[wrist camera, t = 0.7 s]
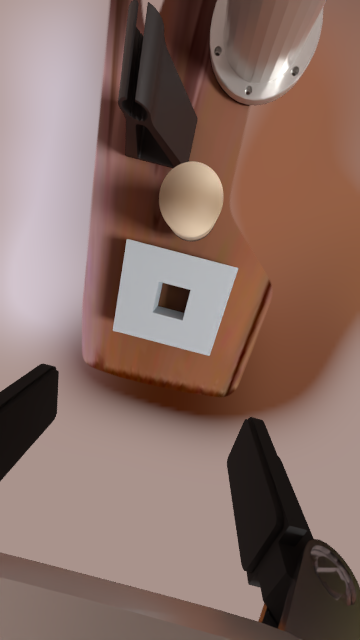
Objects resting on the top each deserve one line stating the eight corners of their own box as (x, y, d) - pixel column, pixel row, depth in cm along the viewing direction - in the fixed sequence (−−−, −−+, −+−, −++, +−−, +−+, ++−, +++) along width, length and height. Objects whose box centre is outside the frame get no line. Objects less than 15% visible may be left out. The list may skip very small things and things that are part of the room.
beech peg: (177, 191, 29) (166, 153, 19) (219, 203, 29) (232, 170, 19) (167, 237, 31) (152, 226, 21) (207, 248, 31) (212, 242, 21)
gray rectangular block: (136, 241, 32) (126, 238, 27) (232, 267, 32) (238, 268, 27) (122, 322, 36) (112, 330, 31) (207, 344, 36) (209, 355, 31)
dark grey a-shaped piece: (126, 156, 28) (78, 85, 17) (133, 103, 26) (85, -15, 15) (186, 171, 28) (180, 111, 17) (197, 120, 26) (199, 14, 15)
